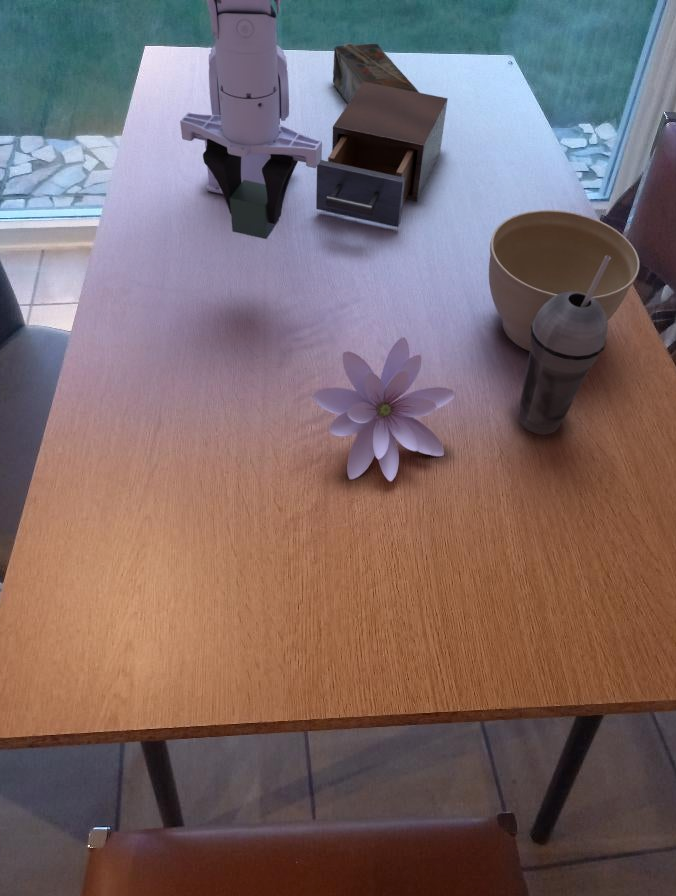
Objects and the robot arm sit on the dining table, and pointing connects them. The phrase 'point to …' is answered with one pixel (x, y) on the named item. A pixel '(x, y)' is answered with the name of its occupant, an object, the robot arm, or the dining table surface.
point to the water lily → (383, 410)
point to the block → (251, 210)
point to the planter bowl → (555, 265)
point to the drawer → (366, 180)
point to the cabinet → (397, 124)
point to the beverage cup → (561, 355)
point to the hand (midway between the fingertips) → (255, 214)
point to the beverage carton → (365, 69)
